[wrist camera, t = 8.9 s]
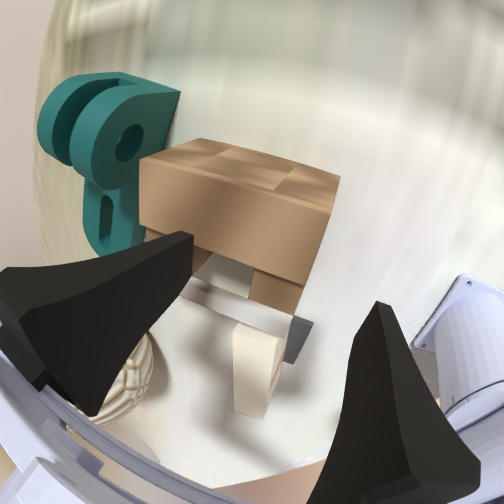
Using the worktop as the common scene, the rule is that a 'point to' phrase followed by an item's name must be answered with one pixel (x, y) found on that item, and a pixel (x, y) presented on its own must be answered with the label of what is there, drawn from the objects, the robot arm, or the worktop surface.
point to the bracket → (107, 147)
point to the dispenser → (240, 222)
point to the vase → (126, 386)
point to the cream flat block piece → (255, 368)
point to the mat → (296, 338)
